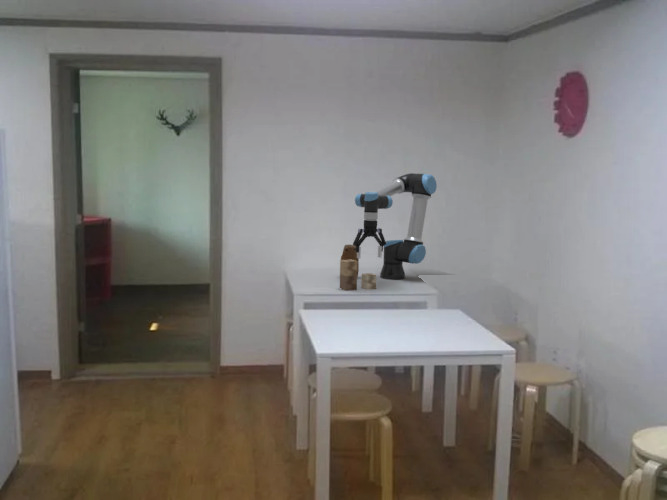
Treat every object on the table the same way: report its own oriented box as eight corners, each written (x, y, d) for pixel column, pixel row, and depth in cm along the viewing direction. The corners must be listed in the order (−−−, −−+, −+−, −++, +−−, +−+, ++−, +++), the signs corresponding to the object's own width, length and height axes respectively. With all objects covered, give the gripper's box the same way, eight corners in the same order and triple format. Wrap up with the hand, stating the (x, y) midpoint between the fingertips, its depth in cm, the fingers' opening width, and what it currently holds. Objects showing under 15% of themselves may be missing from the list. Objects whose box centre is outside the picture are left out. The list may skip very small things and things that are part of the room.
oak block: (351, 273, 407) (351, 259, 406) (357, 275, 401) (357, 261, 400) (340, 274, 404) (340, 260, 403) (345, 276, 398) (346, 261, 396)
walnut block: (350, 287, 408) (351, 273, 407) (356, 289, 402) (357, 275, 401) (339, 288, 405) (340, 274, 404) (345, 290, 399) (346, 276, 398)
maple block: (370, 287, 411) (370, 273, 410) (375, 288, 406) (376, 274, 405) (361, 287, 408) (361, 273, 407) (366, 289, 403) (367, 275, 402)
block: (357, 276, 444) (358, 244, 441) (358, 278, 436) (359, 246, 434) (339, 276, 443) (340, 244, 440) (340, 278, 436) (341, 245, 433)
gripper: (386, 219, 411) (384, 256, 413) (347, 219, 399) (346, 257, 402) (393, 220, 404) (391, 257, 407) (354, 220, 393) (352, 259, 395)
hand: (369, 257), depth 404 cm, fingers open, 13 cm apart
